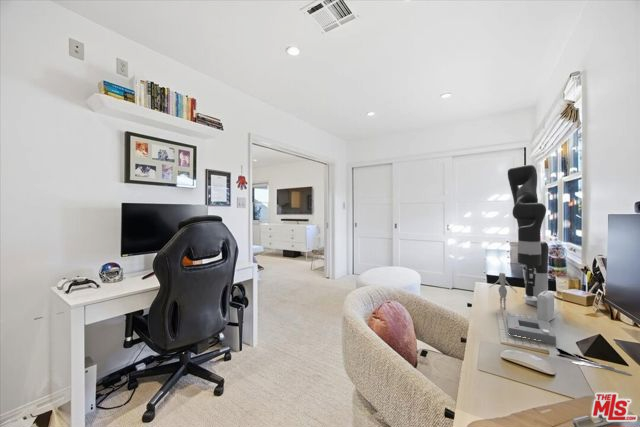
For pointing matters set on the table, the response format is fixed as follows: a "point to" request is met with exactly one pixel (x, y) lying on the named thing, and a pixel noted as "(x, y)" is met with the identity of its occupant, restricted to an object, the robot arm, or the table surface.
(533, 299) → the chess piece
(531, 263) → the robot arm
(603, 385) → the table surface
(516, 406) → the table surface
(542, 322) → the socket plate
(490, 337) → the table surface
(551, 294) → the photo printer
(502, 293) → the human figurine
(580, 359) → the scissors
